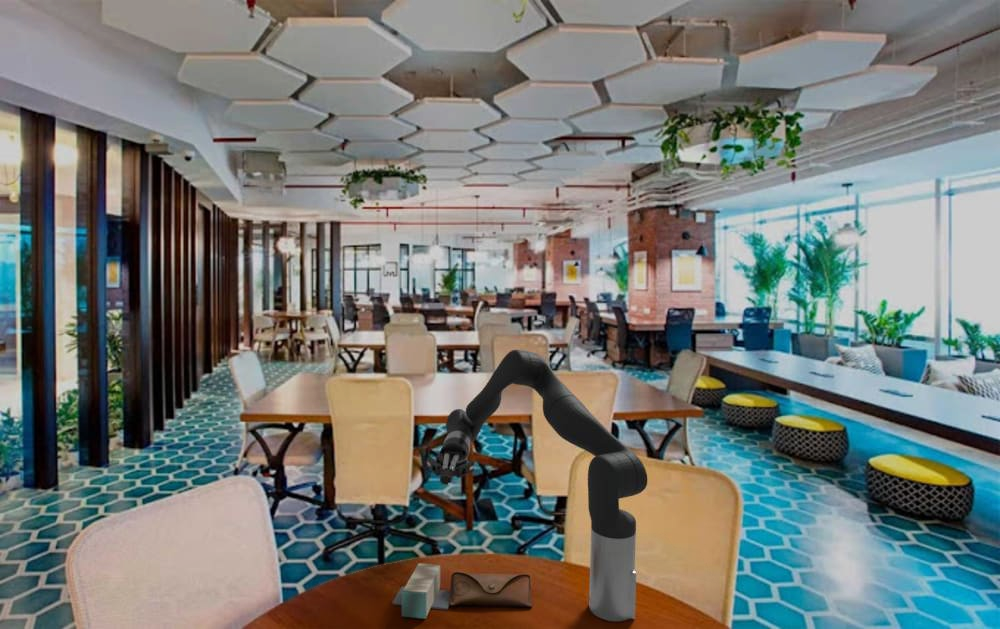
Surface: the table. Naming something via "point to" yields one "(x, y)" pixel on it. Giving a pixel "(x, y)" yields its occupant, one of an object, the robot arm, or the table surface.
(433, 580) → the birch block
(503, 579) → the sunglasses case
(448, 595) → the rubber mat
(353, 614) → the table surface
